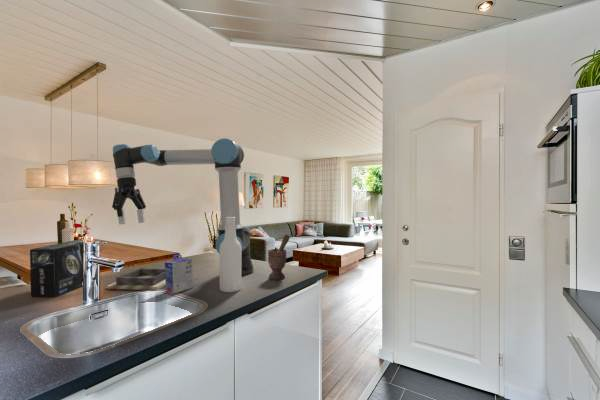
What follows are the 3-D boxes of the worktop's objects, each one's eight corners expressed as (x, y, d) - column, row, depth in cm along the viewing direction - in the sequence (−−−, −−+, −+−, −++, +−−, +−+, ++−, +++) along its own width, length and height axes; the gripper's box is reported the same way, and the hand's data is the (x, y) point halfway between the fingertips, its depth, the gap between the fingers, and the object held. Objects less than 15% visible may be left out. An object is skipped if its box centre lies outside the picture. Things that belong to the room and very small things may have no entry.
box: (55, 298, 112) (54, 248, 111) (29, 298, 112) (29, 248, 112) (98, 280, 135) (98, 239, 135) (77, 280, 135) (76, 239, 135)
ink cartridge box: (185, 285, 127) (184, 252, 127) (193, 287, 124) (193, 253, 124) (164, 292, 119) (164, 256, 118) (173, 294, 116) (173, 257, 116)
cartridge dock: (180, 276, 141) (180, 268, 141) (157, 289, 121) (157, 279, 121) (137, 275, 143) (137, 267, 143) (106, 288, 123) (106, 278, 123)
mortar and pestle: (276, 273, 147) (276, 233, 147) (292, 275, 144) (291, 234, 144) (264, 279, 137) (264, 236, 136) (281, 281, 133) (281, 237, 133)
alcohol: (227, 285, 127) (227, 216, 127) (245, 287, 124) (245, 216, 124) (215, 291, 119) (214, 217, 119) (233, 293, 116) (233, 218, 116)
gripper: (135, 182, 149) (141, 223, 148) (97, 176, 124) (105, 226, 123) (149, 179, 149) (155, 220, 148) (114, 173, 124) (121, 223, 123)
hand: (132, 223), depth 136 cm, fingers open, 13 cm apart
